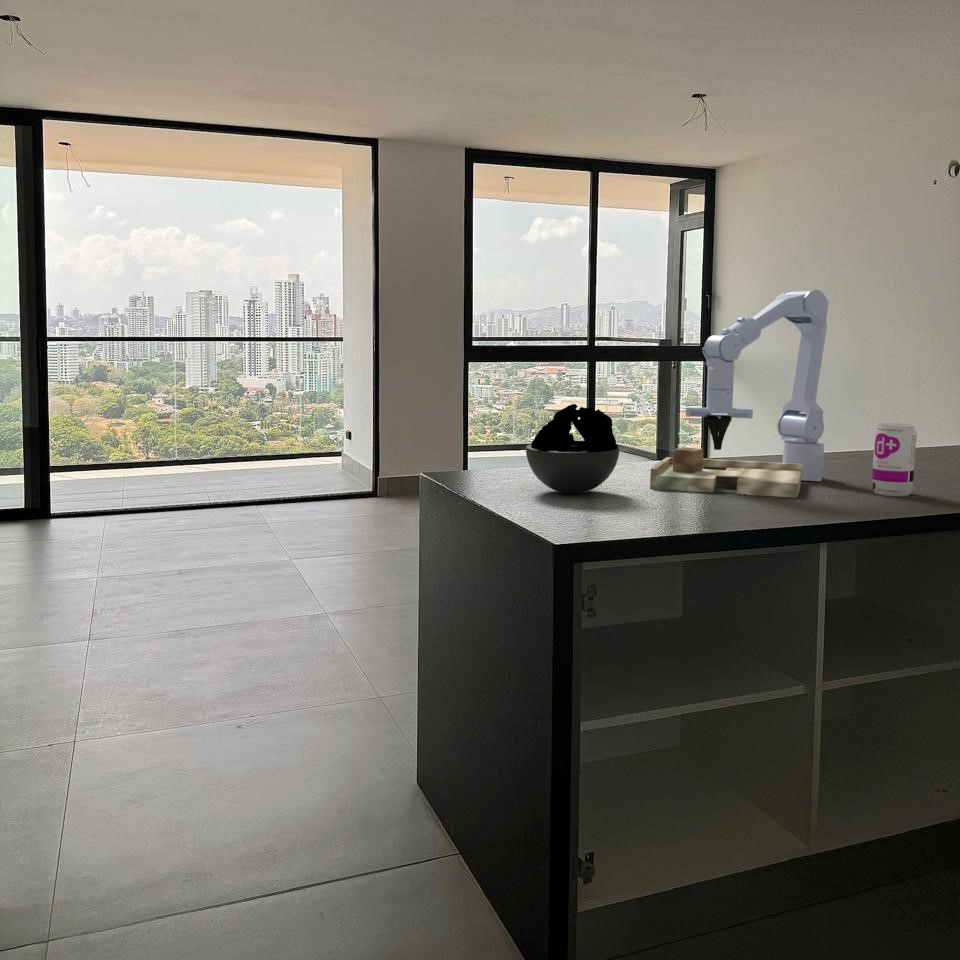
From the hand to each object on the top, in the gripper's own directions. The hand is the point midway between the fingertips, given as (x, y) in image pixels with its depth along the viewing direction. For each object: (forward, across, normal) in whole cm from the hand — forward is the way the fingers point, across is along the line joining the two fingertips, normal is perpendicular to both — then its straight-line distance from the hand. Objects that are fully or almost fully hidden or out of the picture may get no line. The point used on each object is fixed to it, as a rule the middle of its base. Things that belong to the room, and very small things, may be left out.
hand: (717, 449), depth 222 cm
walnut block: (+5, -6, 0) cm, 8 cm away
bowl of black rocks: (+8, -28, -22) cm, 37 cm away
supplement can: (+9, +37, +3) cm, 38 cm away
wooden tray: (+8, +2, 0) cm, 9 cm away
